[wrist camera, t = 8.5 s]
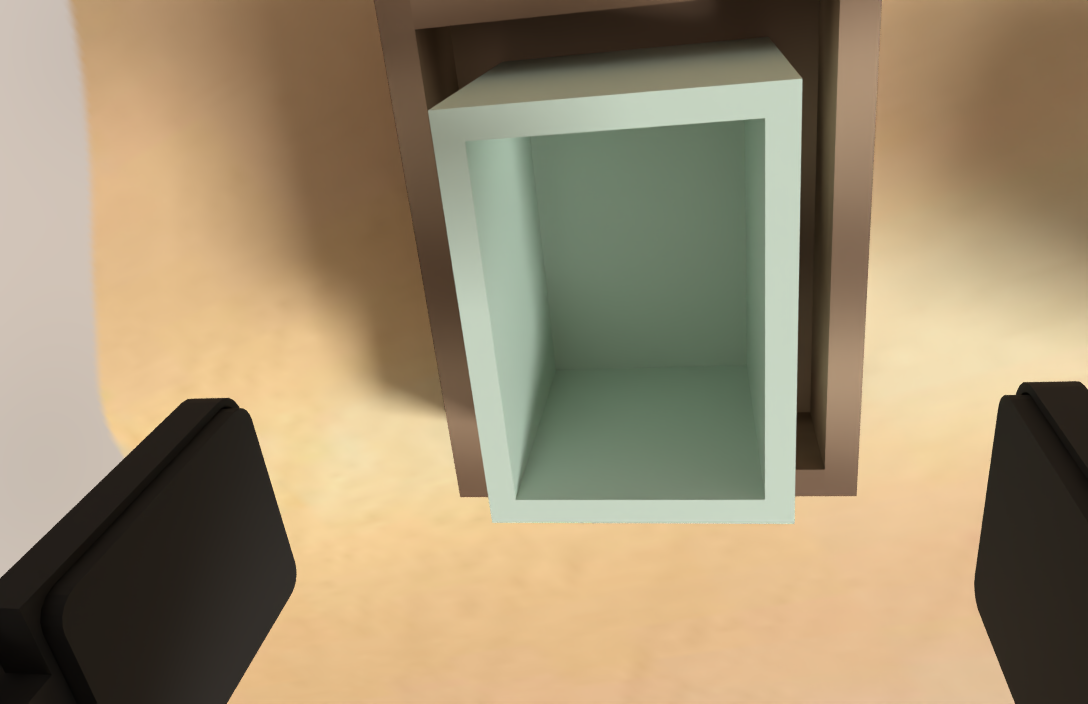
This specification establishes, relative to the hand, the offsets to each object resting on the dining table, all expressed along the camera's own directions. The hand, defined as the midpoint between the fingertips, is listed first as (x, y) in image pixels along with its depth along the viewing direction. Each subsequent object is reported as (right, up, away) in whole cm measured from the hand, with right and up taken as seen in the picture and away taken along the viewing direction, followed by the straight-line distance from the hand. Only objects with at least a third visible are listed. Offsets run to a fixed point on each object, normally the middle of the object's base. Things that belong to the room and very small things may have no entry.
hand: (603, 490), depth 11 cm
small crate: (+2, +5, +12) cm, 13 cm away
